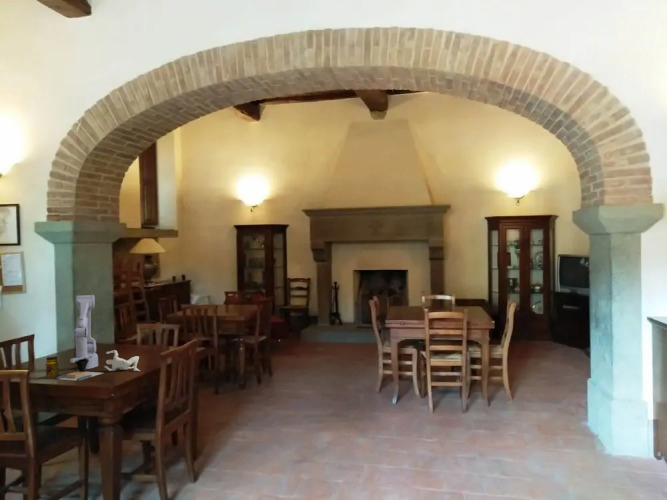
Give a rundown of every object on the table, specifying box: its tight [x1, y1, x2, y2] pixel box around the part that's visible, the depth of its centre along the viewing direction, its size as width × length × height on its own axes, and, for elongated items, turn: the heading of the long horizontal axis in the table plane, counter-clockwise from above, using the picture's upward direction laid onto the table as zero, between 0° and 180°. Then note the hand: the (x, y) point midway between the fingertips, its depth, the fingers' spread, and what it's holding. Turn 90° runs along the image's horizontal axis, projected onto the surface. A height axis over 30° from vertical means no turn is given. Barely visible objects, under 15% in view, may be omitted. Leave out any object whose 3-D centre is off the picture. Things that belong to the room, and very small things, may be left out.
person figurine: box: [103, 349, 141, 372], centre depth 303 cm, size 13×13×18 cm
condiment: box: [45, 355, 60, 380], centre depth 291 cm, size 7×8×12 cm
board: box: [55, 371, 103, 382], centre depth 292 cm, size 18×16×2 cm
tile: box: [66, 370, 86, 378], centre depth 290 cm, size 2×6×7 cm
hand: (82, 373), depth 294 cm, fingers closed
